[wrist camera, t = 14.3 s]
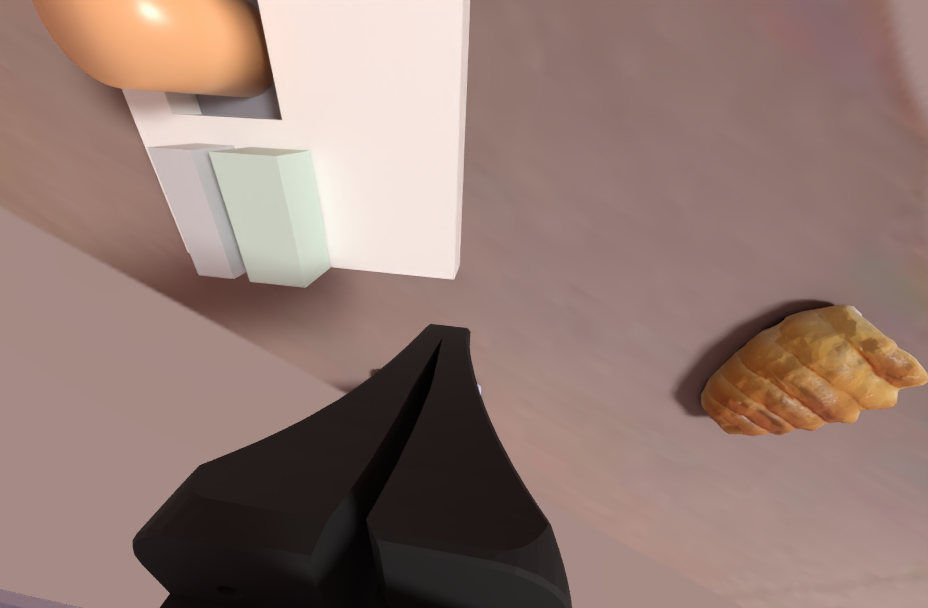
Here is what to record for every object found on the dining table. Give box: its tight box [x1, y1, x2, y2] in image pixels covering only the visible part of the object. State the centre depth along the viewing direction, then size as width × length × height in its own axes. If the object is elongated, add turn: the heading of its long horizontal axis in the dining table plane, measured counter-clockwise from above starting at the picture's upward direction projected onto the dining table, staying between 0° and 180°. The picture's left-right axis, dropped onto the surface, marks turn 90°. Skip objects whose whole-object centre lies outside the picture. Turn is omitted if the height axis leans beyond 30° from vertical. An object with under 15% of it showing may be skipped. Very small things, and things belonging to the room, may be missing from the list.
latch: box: [209, 147, 330, 288], centre depth 16 cm, size 6×3×2 cm, turn 178°
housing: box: [121, 0, 470, 279], centre depth 15 cm, size 15×16×4 cm
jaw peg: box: [33, 0, 274, 98], centre depth 13 cm, size 4×4×6 cm
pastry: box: [701, 305, 928, 436], centre depth 19 cm, size 9×7×4 cm
